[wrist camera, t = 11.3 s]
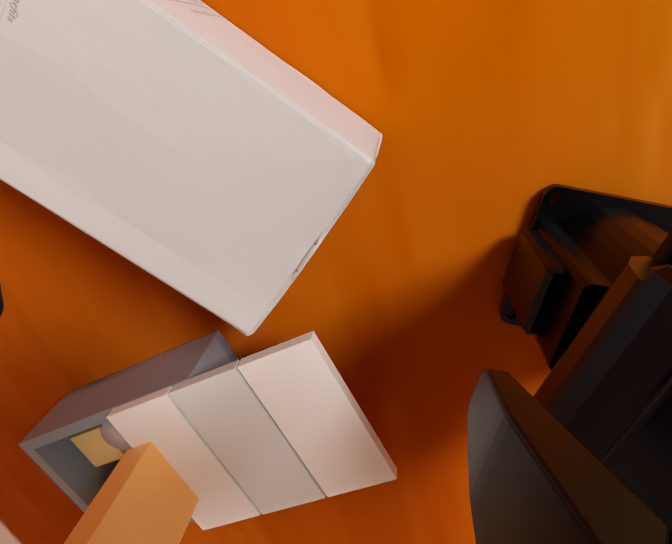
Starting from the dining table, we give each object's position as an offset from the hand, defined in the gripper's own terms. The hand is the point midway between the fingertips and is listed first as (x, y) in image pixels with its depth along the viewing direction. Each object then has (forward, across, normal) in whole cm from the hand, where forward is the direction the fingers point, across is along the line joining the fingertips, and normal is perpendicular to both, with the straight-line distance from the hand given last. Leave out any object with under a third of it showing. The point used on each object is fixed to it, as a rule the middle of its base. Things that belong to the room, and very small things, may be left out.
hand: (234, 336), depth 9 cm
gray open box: (+13, +6, +16) cm, 21 cm away
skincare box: (+10, +13, -5) cm, 17 cm away
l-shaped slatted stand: (+9, +1, +12) cm, 15 cm away
